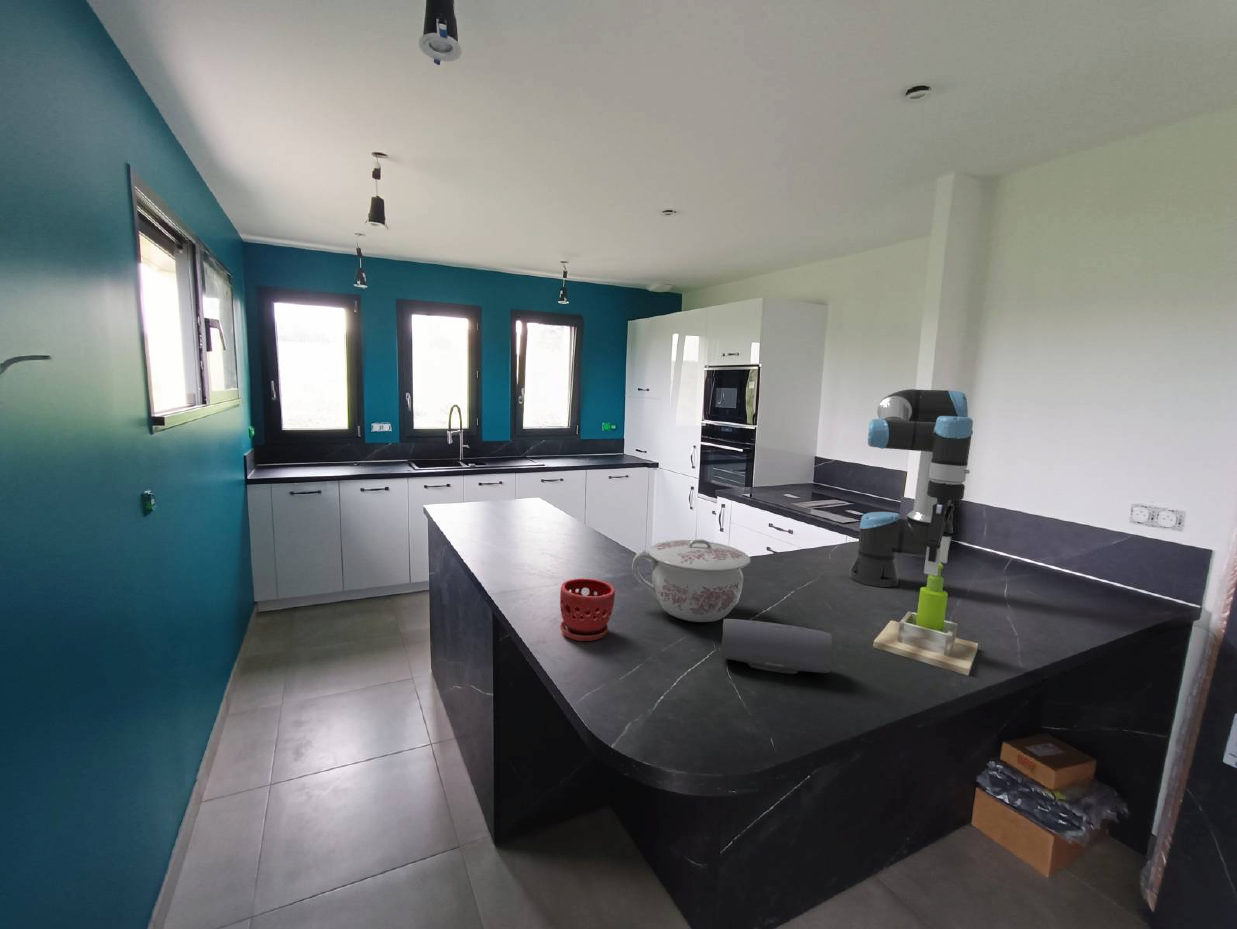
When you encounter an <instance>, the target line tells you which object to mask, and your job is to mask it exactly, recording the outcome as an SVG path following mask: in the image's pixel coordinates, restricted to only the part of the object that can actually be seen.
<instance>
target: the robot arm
mask: <svg viewBox="0 0 1237 929" xmlns="http://www.w3.org/2000/svg"><path fill="white" fill-rule="evenodd" d="M968 407H969V406H968V398H967V395H966V393H964V392H963V391H957V390H950V389H948V390H946V389H942V390H941V389H916V388H914V389H913V388H911V389H910V388H909V389H902V390H899V391H896V392H893V393H891V394H888V395H887V396H885V397H884V398H882V400H880V403H878V406H877V410H876V411H877V417H878V418H873V419H871V420H870V421H869V426H868V434H867V435H868V436H867V445H868V446H869V447H871V448H879V449H888V450H889V449H890V450H900V451H901V450H903V451H913V452H914V451H915V452H920V455H919V461H918V462H919V463H918V471H917V480H916V485H915V487H916V488H915V494H914V503H913V510H911V511H910V512H908V513H907V515H906V516H907V517H906V518H901V516H900V514H899V513H897V512H892V511H891V512H890V511H871V512H867V513H865V514H862V516H861V520H860V525H859V527H858V528H859V534H858V535H859V536H858V544H857V553H856V556H855V558H854V561H853V563H852V565H851V567H850V568H849V575H848V577H849V578H850V579H851V580H854V581H855V582H857V583H859V584H864V585H866V586H867V585H868V586H871V587H878V588H893V587H896V586H898V584H899V575H898V574H899V573H898V570H897V566H896V554H900V555H905V556H911V557H912V556H913V557H918V558H925V561H924V569H923V574H925V575H934V576H937V575H938V567H939V562H941V563H943V564H947V563H948V555H949V549H950V544H951V541H952V538H954V536H955V533H954V532H953V517H954V510H955V506H954V504H955V501H962V500H963V499H964V496H965V489H966V485H965V484H964V483H965V482H966V479H967V475H969V474H970V473H971V472H970V471H971V470H970V469H967V468H968V464H969V455H970V447H971V442H972V436H973V433H974V431H973V424H974V421H973V419H972V418H971V417H969V409H968Z"/></svg>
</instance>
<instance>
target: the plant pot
mask: <svg viewBox="0 0 1237 929" xmlns="http://www.w3.org/2000/svg"><path fill="white" fill-rule="evenodd" d="M583 589H588V591H589V592H588V594H587V595H584V594H583V593H582V590H583ZM577 590H578V591H577ZM615 592H616V589H615V588H614V586H613V585H612V584H610V583H608V582H605V581H603V580H599V579H594V578H571V579H569V580H565V581H564V582H563V583H562V584H561V586H560V592H559V594H560V595H559V597H560V598H559V604H560V605H559V607H560V608H559V609H560V613H561V618H562V621H561V622H560V624H559V627H560V630H561V633H563V634H564V635H565V636H566V637H568V638H569V639H572V640H576V641H581V642H590V641H595V640H599V639H601V638H603V637H605V635H606V634H607V633H608V632H609V627H608V622H609V621H610V618H611V616H612V612H613V609H614V605H615V604H614V603H615V597H616V596H615V595H616V593H615ZM595 593H596V594H595Z"/></svg>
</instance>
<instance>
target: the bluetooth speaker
mask: <svg viewBox="0 0 1237 929" xmlns="http://www.w3.org/2000/svg"><path fill="white" fill-rule="evenodd" d="M832 644H833V638H832V634H831V633H830V632H825V631H823V630H818V629H812V628H808V627H807V628H806V627H800V626H796V625H788V624H783V623H782V624H781V623H774V622H767V621H758V620H751V619H750V620H749V619H747V620H746V619H738V618H737V619H736V618H723V622H722V637H721V646H720V657H722V658H724V659H729V660H731V661H738V662H742V663H747V664H748V667H750V668H752V669H758V670H762V671H766V672H767V671H768V672H775V673H780V674H782V673H783V674H790V675H791V674H797V673H798V672H811V673H821V674H822V673H825V674H827V673H830V672H831V669H832V664H833V659H832V655H833V654H832V652H833V650H832V649H833V648H832V647H833V645H832Z"/></svg>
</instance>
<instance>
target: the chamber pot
mask: <svg viewBox="0 0 1237 929" xmlns="http://www.w3.org/2000/svg"><path fill="white" fill-rule="evenodd" d="M642 559H646V560H649V561H650V563H651V564H650V570H651V580H652V583H651V582H649V581H647V580H646V579H644V577H643V576H642V575H641V573H640V572H639V567H638V566H639V563H640V560H642ZM750 564H751V557H750V556H749V555H748V554H746V552H745V551H742V550H740V549H738V548H735V547H732V546H729V545H726V544H722V543H718V542H714V541H708V540H706V539H703V538H702V539H701V538H700V539H676V540H669V541H667V540H666V541H661V542H658V543H655V544H653V545H651V546H650V547H649V549H648V550H640V551H638V552H637V553H636V554H635V556H634V558H633V559H632V565H631V570H632V574H633V576H634V577H635V578H636V580H637V582H638V583H639V584H641V585H642V586H644V587H645V588H646V589H648V590H649V592H650V593H651V594H652V596H654V598H655V600H656V601H658V602H659V604H660V605H661V607H662V609H663V610H664V611H665V612H666V613H667V614H668V615H669V616H672V617H674V618H677V619H679V620H683V621H687V622H692V623H709V622H717V621H719V620H722V619H723V620H724V619H725V618H726V617H727V616H728V615H729V614H730V612H731V611H732V610H733V609H734V608H735V606H736V605H737V604H738V602H739V600H740V597H741V594H742V591H743V587H744V586H743V585H744V573H743V570H742V569H743V568H745V567H747V566H748V565H750Z"/></svg>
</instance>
